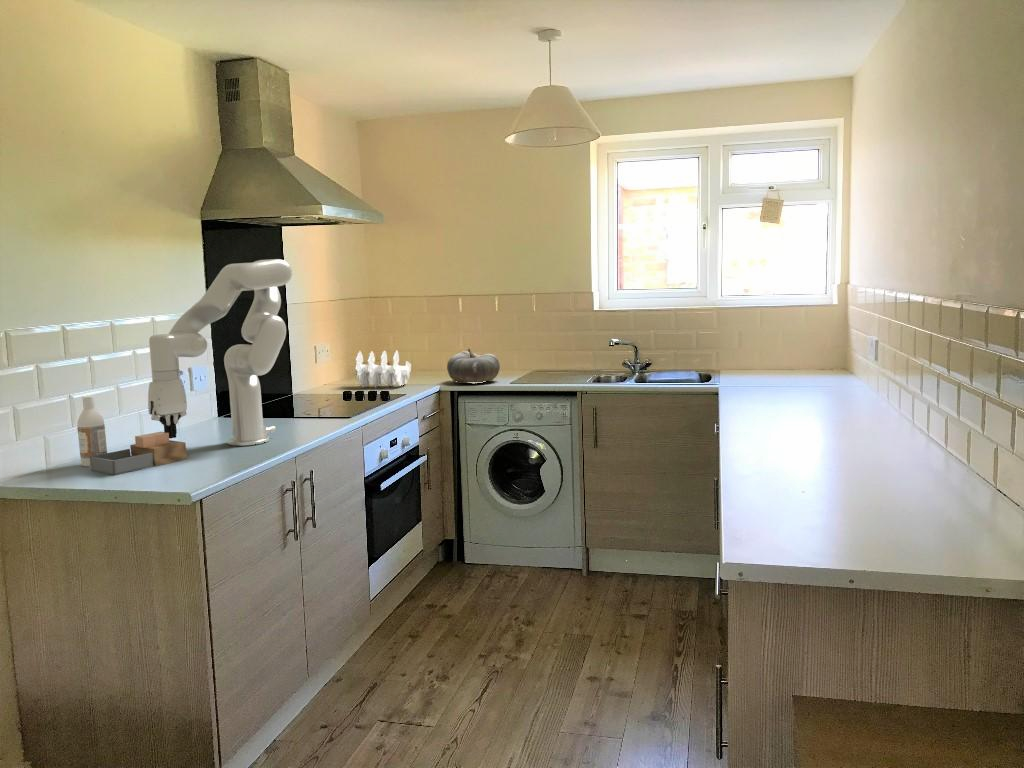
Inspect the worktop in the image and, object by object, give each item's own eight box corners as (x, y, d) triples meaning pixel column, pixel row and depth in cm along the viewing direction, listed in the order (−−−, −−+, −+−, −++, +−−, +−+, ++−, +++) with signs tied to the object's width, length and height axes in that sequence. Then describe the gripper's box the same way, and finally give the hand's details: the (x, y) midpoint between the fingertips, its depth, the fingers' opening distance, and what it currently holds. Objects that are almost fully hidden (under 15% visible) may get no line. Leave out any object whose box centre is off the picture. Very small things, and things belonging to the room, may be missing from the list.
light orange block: (148, 444, 234) (147, 433, 234) (156, 445, 232) (155, 435, 232) (135, 446, 231) (134, 436, 231) (143, 448, 229) (142, 437, 229)
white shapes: (405, 396, 379) (354, 394, 383) (414, 376, 394) (365, 374, 397) (401, 363, 369) (348, 361, 373) (410, 344, 384) (359, 342, 387)
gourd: (454, 374, 406) (458, 340, 402) (502, 382, 402) (506, 348, 397) (440, 385, 383) (443, 350, 378) (490, 394, 378) (494, 359, 374)
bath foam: (76, 465, 231) (69, 397, 229) (98, 460, 238) (91, 394, 235) (91, 468, 228) (84, 398, 226) (113, 462, 234) (106, 395, 232)
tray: (130, 462, 234) (128, 448, 234) (153, 466, 227) (152, 452, 227) (91, 470, 225) (89, 456, 224) (114, 475, 218) (112, 461, 217)
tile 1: (161, 441, 238) (160, 431, 237) (169, 442, 235) (168, 432, 235) (149, 444, 234) (148, 433, 234) (156, 445, 232) (156, 435, 232)
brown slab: (163, 455, 243) (161, 438, 242) (186, 459, 236) (185, 442, 235) (131, 461, 235) (130, 445, 234) (155, 466, 228) (153, 448, 227)
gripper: (181, 373, 244) (186, 432, 246) (134, 378, 232) (140, 441, 234) (196, 374, 240) (200, 434, 242) (149, 379, 227) (154, 443, 230)
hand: (170, 437), depth 238 cm, fingers closed
